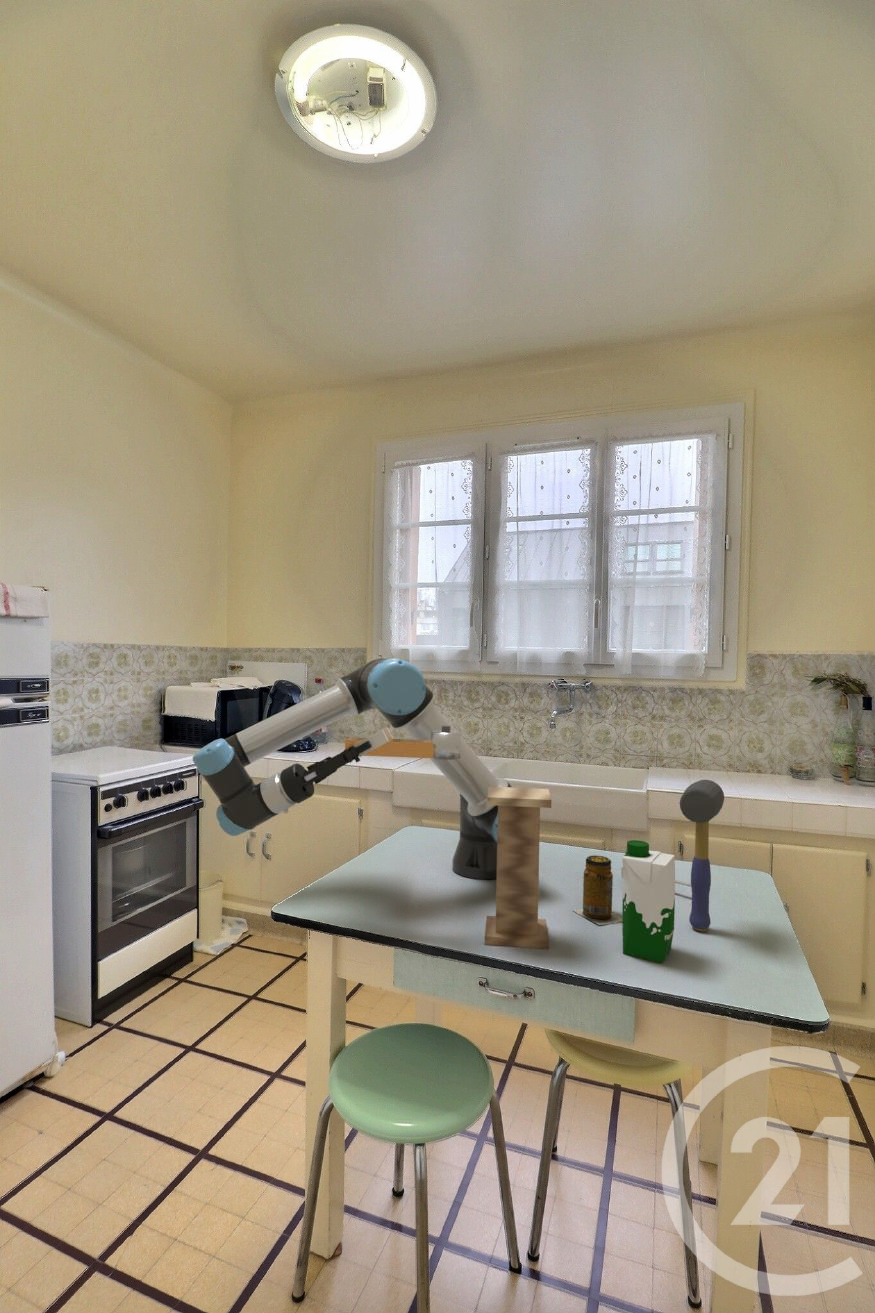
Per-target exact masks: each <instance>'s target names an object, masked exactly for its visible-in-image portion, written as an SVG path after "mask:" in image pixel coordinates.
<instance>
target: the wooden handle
mask: <svg viewBox="0 0 875 1313" xmlns="http://www.w3.org/2000/svg"><path fill="white" fill-rule="evenodd" d="M451 726H452V725H451ZM451 726H445V725H443V726H442V730H436V731H431V740H413V739H412V738H411V739H410V738H408V739H407V738H406V739H405V738H393V739H388V740H389V742H387V743H385V744H383V745H381V746H380V747H378V748H376V749H374V750H372V751H370V752H369V753H367V754H365V755H363V756H362V757H386V758H387V757H388V758H411V759H412V758H413V759H416V758H417V759H430V758H434V759H441V760H454V759H459V758H461V738H462V732H461V731H459V730H456V731H453V730H451ZM366 738H367V737H348V738H346V739H345V740H344V750H345V749H349V747H352V746H353V747H354V745H355V744H356V743H358V742H360V741H362V740H364V739H366ZM354 748H355V747H354ZM358 757H360V756H359V755H358Z"/></svg>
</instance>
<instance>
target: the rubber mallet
mask: <svg viewBox="0 0 875 1313" xmlns="http://www.w3.org/2000/svg"><path fill="white" fill-rule="evenodd" d="M724 801H725V793H724V791H723V789H722V787H721V786H720V785H719V784H718V783H716V782H715V781H713V780H710V779H700V780H697V781H695V782H693V783H691V784H690V785H689V786H688V787H686V788H685V790H684V791H683V793H682V795H681V797H680V800H679V808H680V811H681V813H682V815H683V816H684V817H685V818H686V819H687V820H689V821H691V822H693V823H695V835H694V837H695V838H694V839H695V840H694V856H693V858H692V863H691V871H690V883H691V910H690V915H689V919H688V920H689V921H688V922H689V923H690V925H691V926H692V929H693V930H695V931H698V932H707V931H708V929H709V928H710V926H711V924H712V923H711V917H710V891H711V886H712V877H711V876H712V875H711V874H712V873H711V872H712V871H711V864H710V859H709V840H710V839H709V835H710V834H709V827H710V826H709V825H710V821H711V820H712V819H714V818H715V817H716V816H718V815H719V813H720V812H721V810H722V809H723V807H724Z"/></svg>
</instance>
